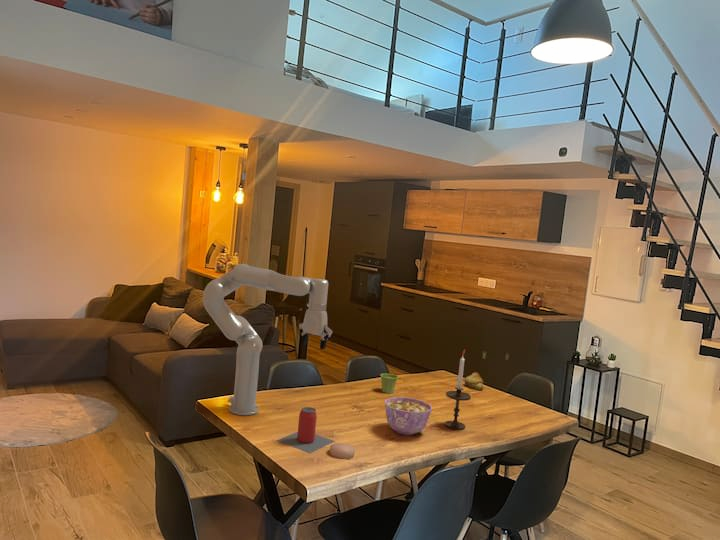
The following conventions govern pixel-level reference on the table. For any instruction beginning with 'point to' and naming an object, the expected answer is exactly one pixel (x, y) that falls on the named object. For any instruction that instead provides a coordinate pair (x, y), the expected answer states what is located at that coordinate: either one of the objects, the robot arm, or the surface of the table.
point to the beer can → (307, 425)
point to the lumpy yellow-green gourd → (474, 381)
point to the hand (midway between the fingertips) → (313, 346)
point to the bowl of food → (407, 414)
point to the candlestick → (458, 399)
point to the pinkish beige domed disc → (342, 450)
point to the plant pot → (388, 382)
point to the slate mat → (306, 447)
